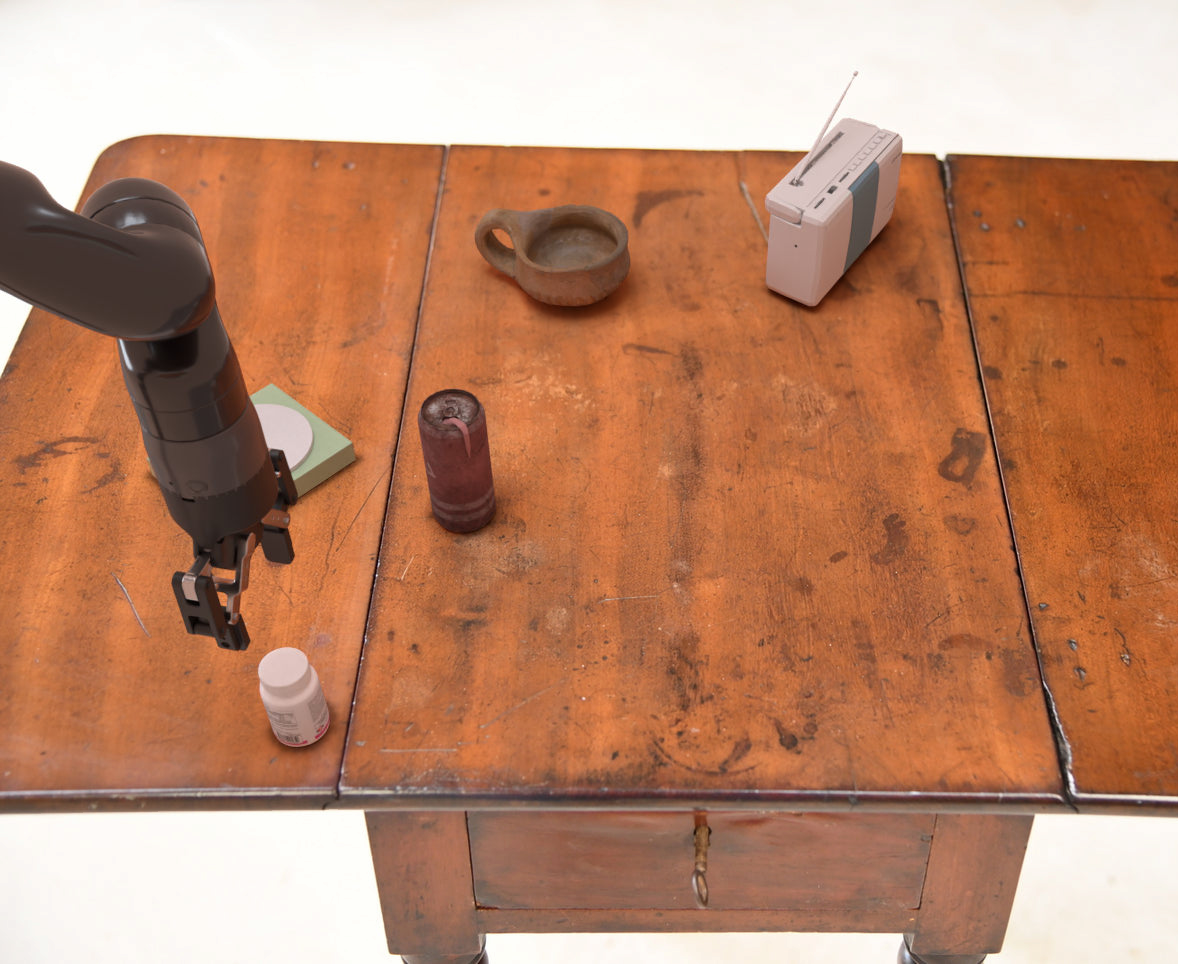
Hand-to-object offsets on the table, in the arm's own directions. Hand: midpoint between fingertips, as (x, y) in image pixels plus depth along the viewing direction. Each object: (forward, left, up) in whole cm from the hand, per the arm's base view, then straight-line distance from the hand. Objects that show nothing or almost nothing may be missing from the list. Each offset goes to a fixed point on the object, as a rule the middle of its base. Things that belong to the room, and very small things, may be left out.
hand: (259, 601), depth 107 cm
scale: (+16, +28, -17) cm, 36 cm away
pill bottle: (0, 0, -17) cm, 17 cm away
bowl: (+57, +27, -17) cm, 66 cm away
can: (+26, +8, -17) cm, 32 cm away
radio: (+83, +7, -17) cm, 85 cm away
